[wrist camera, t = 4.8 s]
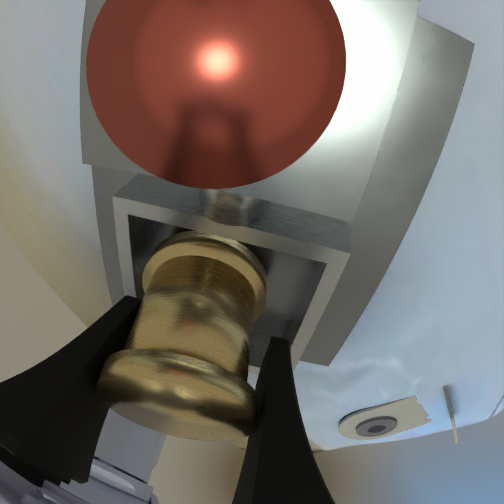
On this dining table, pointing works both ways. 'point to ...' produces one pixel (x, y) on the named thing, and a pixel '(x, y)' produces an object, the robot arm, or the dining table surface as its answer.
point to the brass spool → (191, 341)
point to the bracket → (389, 419)
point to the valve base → (334, 165)
